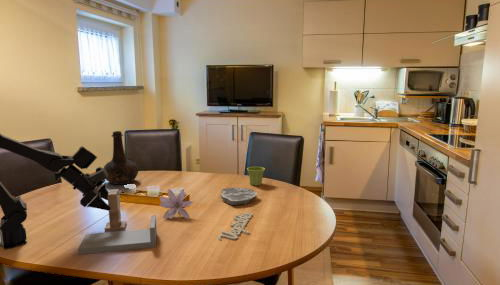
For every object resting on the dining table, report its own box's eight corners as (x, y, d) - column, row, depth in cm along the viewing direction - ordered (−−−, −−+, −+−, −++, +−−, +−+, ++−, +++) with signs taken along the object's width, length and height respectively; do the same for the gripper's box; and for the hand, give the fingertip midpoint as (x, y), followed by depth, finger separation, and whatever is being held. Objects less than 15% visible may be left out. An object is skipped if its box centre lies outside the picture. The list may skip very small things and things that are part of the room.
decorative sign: (243, 241, 122) (215, 238, 124) (243, 244, 122) (215, 240, 124) (259, 213, 147) (236, 211, 149) (259, 215, 147) (236, 213, 150)
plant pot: (244, 182, 193) (244, 167, 191) (261, 181, 196) (261, 165, 194) (250, 187, 184) (250, 171, 183) (267, 186, 187) (267, 170, 185)
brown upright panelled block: (124, 230, 132) (122, 193, 130) (104, 231, 131) (101, 195, 128) (126, 223, 138) (124, 188, 136) (107, 225, 137) (104, 189, 134)
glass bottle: (145, 180, 196) (142, 130, 191) (118, 189, 181) (114, 135, 176) (124, 176, 205) (121, 128, 200) (96, 183, 190) (92, 132, 185)
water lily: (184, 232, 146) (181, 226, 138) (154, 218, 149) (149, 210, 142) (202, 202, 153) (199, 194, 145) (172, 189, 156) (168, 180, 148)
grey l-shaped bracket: (78, 254, 114) (76, 234, 113) (86, 239, 124) (84, 220, 123) (155, 247, 119) (154, 227, 118) (156, 233, 130) (155, 215, 128)
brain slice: (263, 203, 161) (263, 197, 161) (228, 208, 155) (228, 202, 155) (248, 191, 179) (248, 185, 179) (215, 195, 173) (215, 189, 172)
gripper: (87, 168, 120) (123, 197, 124) (97, 157, 137) (129, 182, 142) (64, 193, 119) (101, 220, 124) (77, 177, 137) (110, 202, 142)
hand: (111, 205), depth 133 cm, fingers open, 9 cm apart
